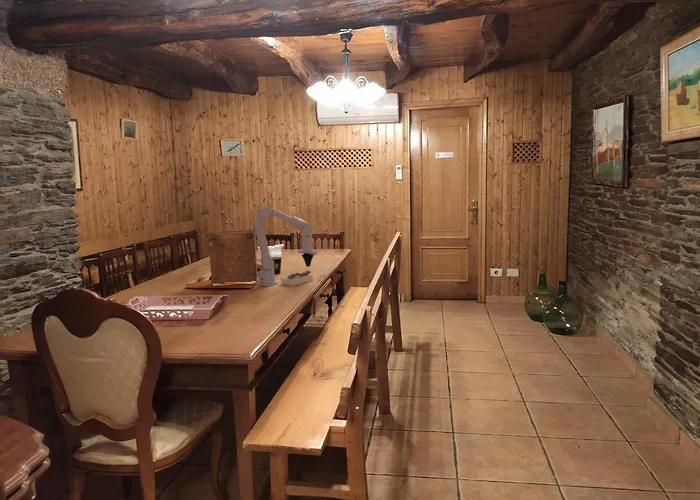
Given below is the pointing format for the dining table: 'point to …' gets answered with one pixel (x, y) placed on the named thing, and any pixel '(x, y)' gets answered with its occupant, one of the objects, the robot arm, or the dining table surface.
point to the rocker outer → (306, 272)
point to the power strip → (296, 280)
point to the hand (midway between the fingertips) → (308, 266)
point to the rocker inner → (292, 276)
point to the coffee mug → (276, 265)
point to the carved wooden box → (233, 256)
